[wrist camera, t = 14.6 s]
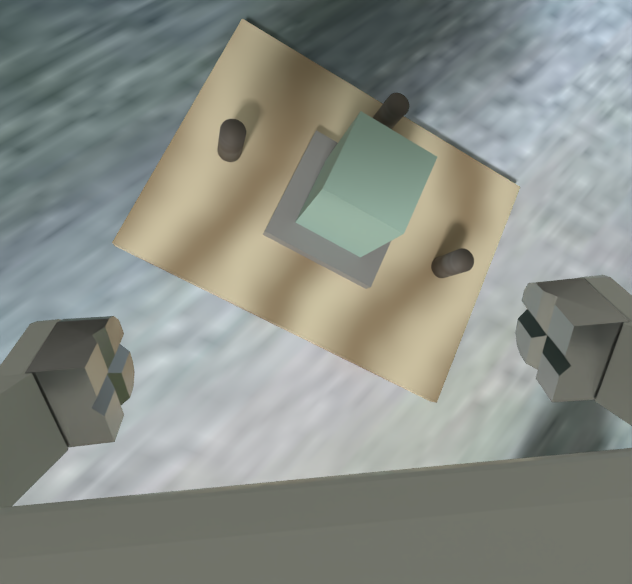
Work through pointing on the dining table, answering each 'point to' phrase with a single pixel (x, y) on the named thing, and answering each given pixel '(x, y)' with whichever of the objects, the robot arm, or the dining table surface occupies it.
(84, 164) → the dining table surface
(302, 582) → the robot arm
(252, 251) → the locating board
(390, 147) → the flange block
